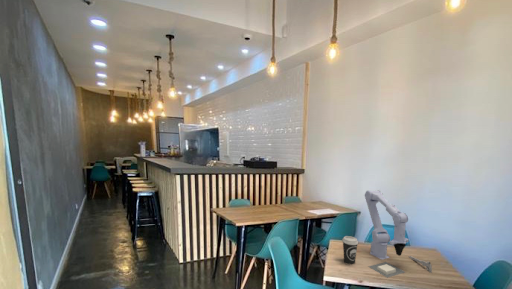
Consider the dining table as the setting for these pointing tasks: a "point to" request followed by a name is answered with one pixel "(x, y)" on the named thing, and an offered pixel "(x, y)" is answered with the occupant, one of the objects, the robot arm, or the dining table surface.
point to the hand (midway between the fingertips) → (398, 254)
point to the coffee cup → (349, 249)
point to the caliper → (423, 263)
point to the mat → (398, 271)
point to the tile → (386, 269)
